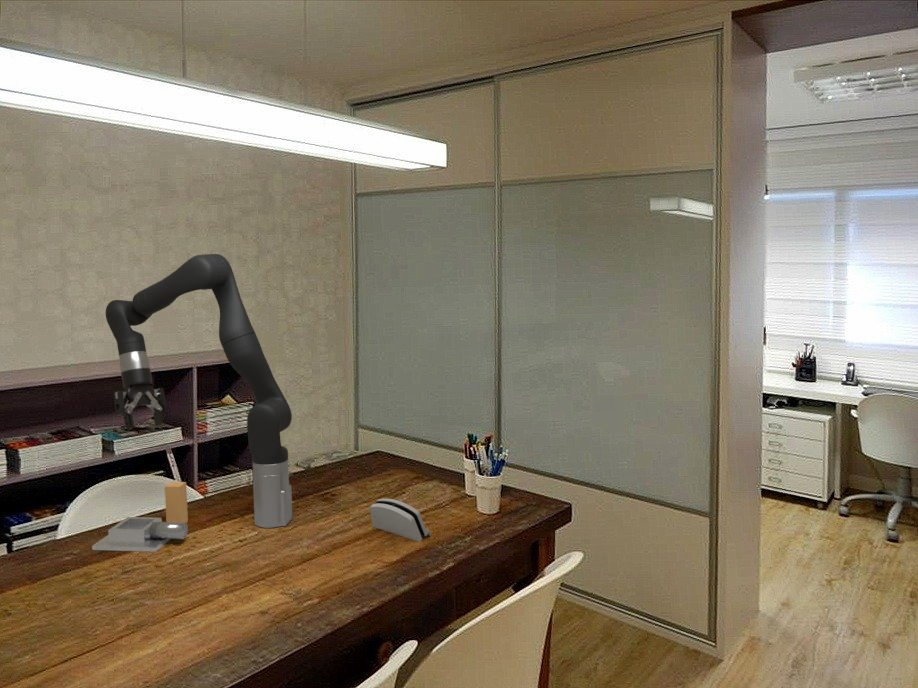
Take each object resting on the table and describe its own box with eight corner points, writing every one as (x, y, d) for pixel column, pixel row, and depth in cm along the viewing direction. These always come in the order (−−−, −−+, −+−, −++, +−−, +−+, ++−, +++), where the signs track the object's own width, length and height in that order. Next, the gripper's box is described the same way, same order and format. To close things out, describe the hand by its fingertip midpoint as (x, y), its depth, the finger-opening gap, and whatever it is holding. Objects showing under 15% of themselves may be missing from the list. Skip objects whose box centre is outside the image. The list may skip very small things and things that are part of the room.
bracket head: (195, 533, 184) (194, 514, 184) (173, 552, 172) (172, 532, 172) (118, 531, 186) (117, 512, 185) (92, 549, 174) (90, 530, 173)
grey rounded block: (432, 535, 183) (423, 504, 179) (421, 547, 180) (411, 515, 176) (385, 520, 193) (376, 490, 189) (374, 531, 190) (364, 500, 186)
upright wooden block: (187, 521, 193) (186, 482, 191) (181, 526, 189) (179, 486, 187) (173, 521, 193) (171, 481, 191) (166, 526, 189) (164, 486, 187)
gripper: (119, 367, 190) (129, 427, 188) (166, 365, 202) (175, 421, 200) (103, 374, 194) (113, 432, 192) (150, 371, 206) (159, 426, 204)
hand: (145, 426), depth 196 cm, fingers open, 8 cm apart
